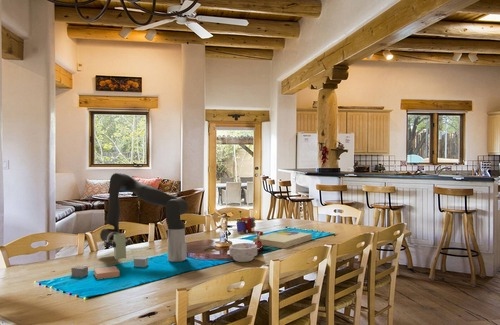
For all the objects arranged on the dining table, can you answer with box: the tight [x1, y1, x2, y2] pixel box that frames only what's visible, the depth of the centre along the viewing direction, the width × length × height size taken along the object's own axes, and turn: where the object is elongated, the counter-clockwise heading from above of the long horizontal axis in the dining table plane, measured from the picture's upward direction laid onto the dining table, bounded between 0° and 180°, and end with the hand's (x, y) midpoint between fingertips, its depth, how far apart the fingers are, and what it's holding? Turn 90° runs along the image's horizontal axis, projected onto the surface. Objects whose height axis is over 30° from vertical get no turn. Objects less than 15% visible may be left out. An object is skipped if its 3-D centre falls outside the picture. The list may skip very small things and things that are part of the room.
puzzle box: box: [252, 230, 313, 249], centre depth 273 cm, size 36×5×24 cm
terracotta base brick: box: [93, 265, 121, 280], centre depth 195 cm, size 10×10×3 cm
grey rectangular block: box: [71, 265, 89, 278], centre depth 195 cm, size 6×4×4 cm, turn 73°
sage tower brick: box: [113, 232, 127, 260], centre depth 211 cm, size 5×5×12 cm
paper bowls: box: [228, 242, 258, 263], centre depth 223 cm, size 15×15×8 cm
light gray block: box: [133, 256, 149, 268], centre depth 212 cm, size 6×4×4 cm, turn 82°
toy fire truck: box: [255, 231, 264, 248], centre depth 252 cm, size 3×14×10 cm, turn 168°
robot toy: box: [236, 210, 257, 234], centre depth 309 cm, size 17×9×20 cm
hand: (120, 244), depth 209 cm, fingers closed on sage tower brick, 5 cm apart
